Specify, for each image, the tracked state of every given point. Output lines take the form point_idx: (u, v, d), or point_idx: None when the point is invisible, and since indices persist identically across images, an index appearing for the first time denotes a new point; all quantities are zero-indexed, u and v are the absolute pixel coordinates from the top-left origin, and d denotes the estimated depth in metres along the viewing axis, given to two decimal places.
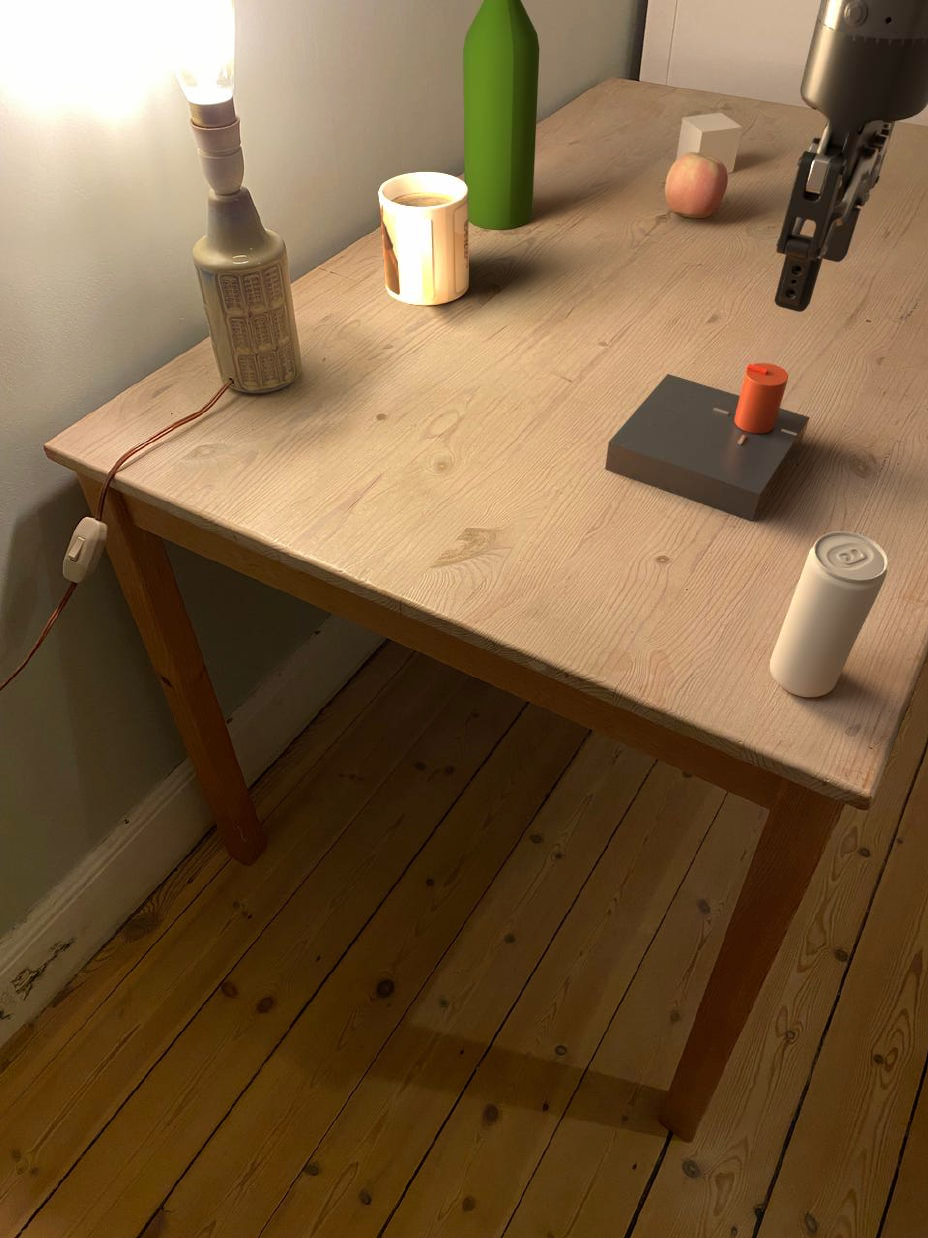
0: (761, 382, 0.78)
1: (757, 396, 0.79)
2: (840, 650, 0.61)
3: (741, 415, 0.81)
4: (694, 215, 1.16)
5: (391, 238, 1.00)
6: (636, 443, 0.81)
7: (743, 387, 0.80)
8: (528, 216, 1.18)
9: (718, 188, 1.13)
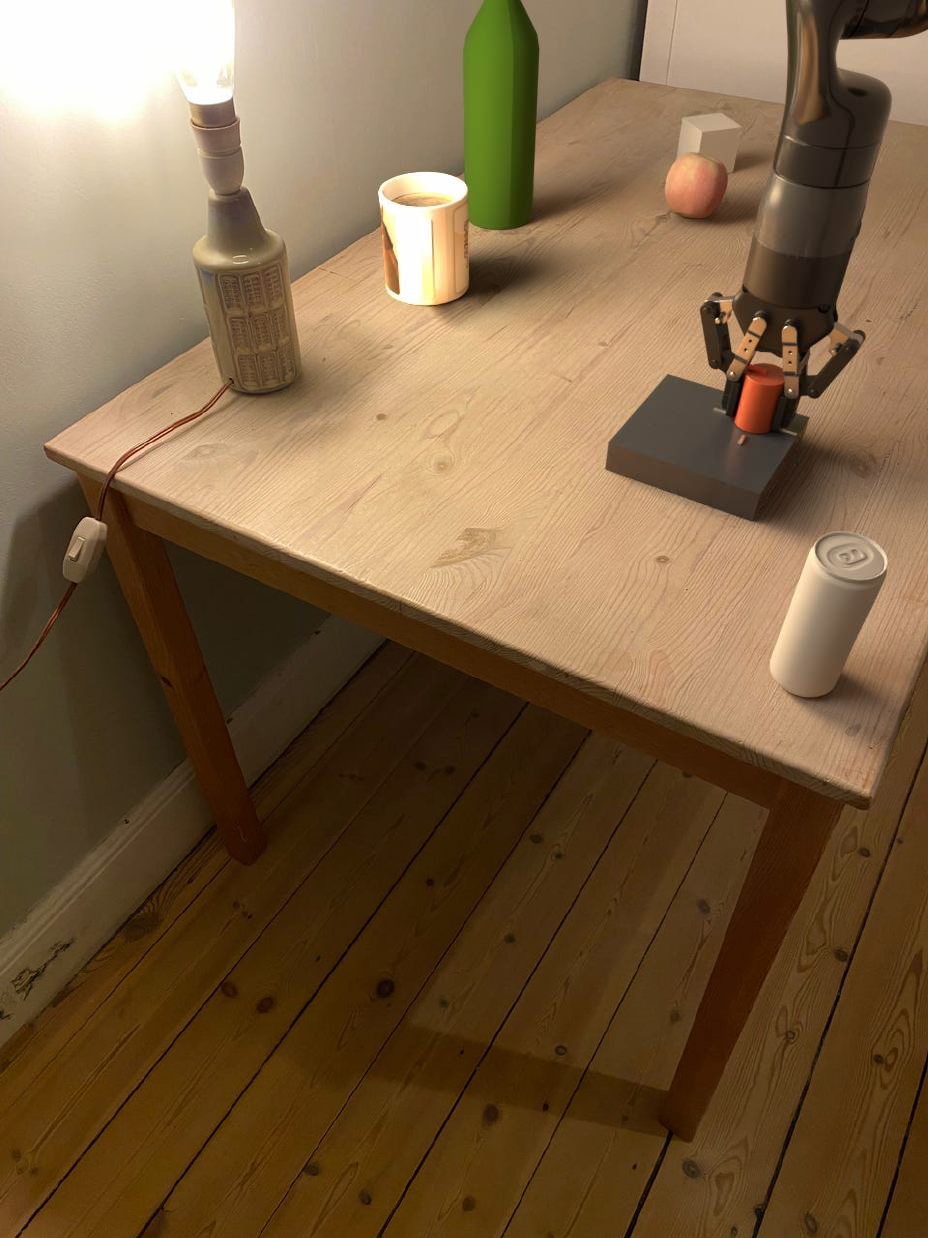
0: (761, 382, 0.78)
1: (757, 396, 0.79)
2: (840, 650, 0.61)
3: (741, 415, 0.81)
4: (694, 215, 1.16)
5: (391, 238, 1.00)
6: (636, 443, 0.81)
7: (743, 387, 0.80)
8: (528, 216, 1.18)
9: (718, 188, 1.13)
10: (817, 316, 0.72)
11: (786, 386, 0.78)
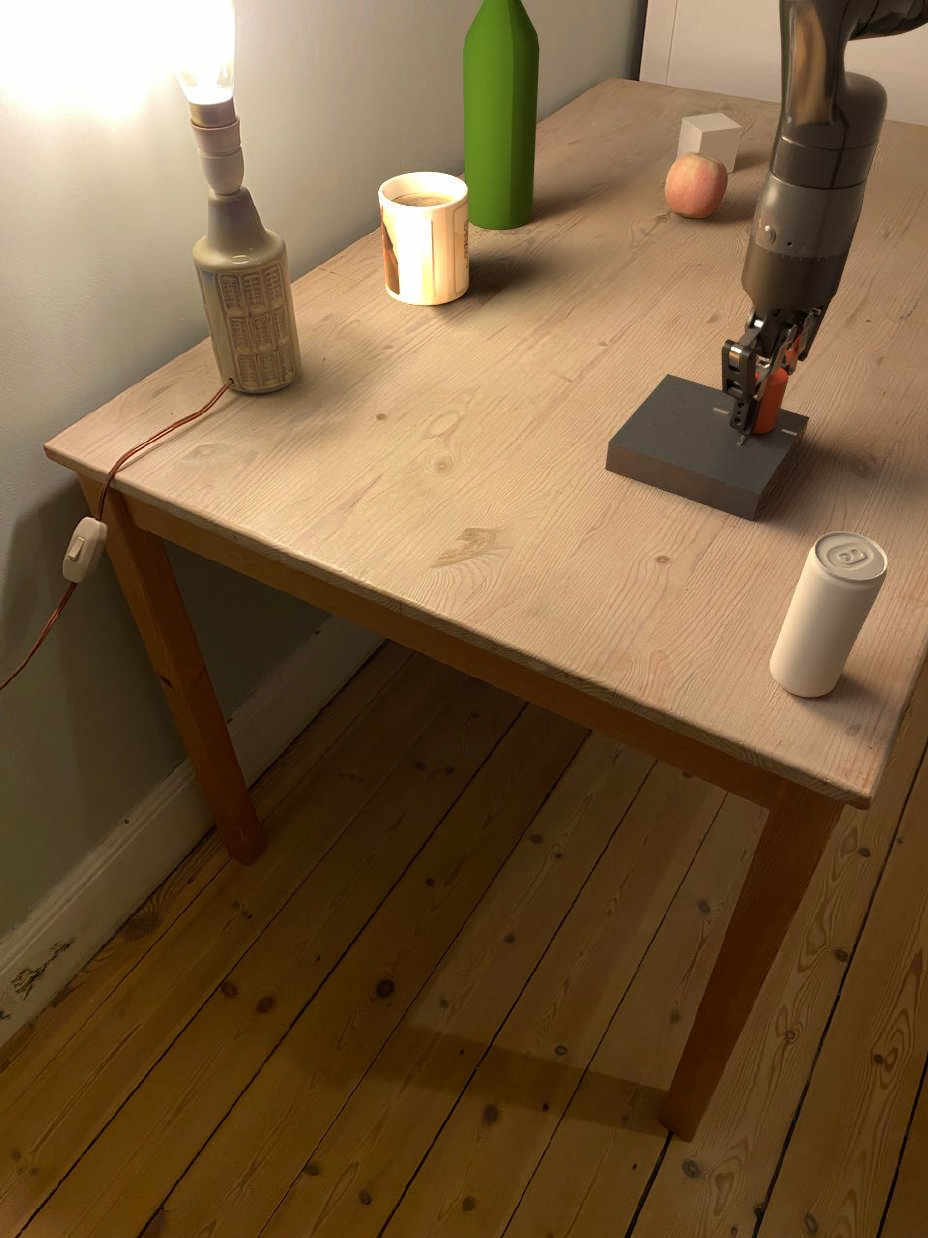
0: (783, 379, 0.78)
1: (782, 393, 0.79)
2: (840, 650, 0.61)
3: (767, 421, 0.81)
4: (694, 215, 1.16)
5: (391, 238, 1.00)
6: (636, 443, 0.81)
7: (765, 398, 0.79)
8: (528, 216, 1.18)
9: (718, 188, 1.13)
10: None
11: (790, 367, 0.79)
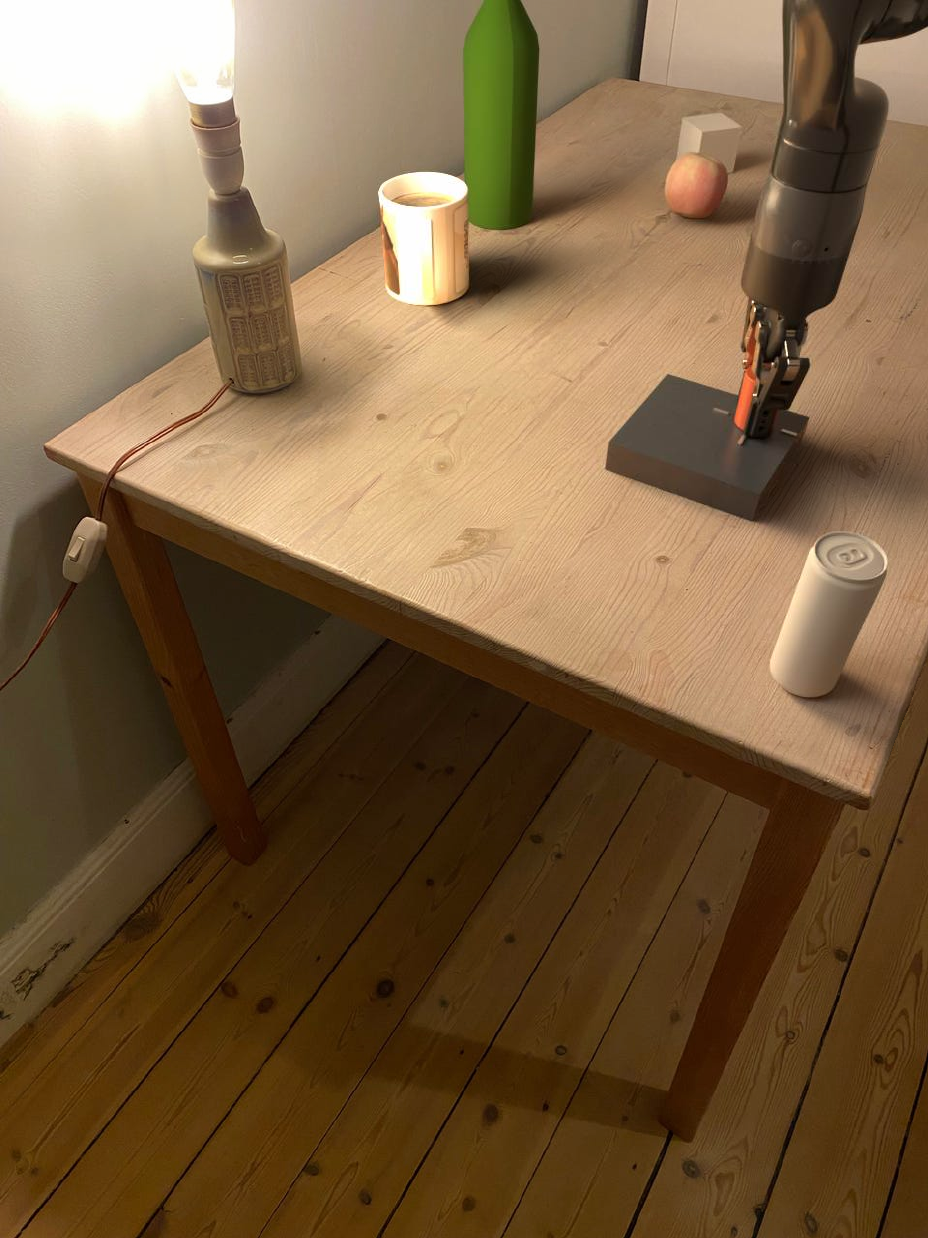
0: None
1: None
2: (840, 650, 0.61)
3: (777, 415, 0.81)
4: (694, 215, 1.16)
5: (391, 238, 1.00)
6: (636, 443, 0.81)
7: None
8: (528, 216, 1.18)
9: (718, 188, 1.13)
10: None
11: None
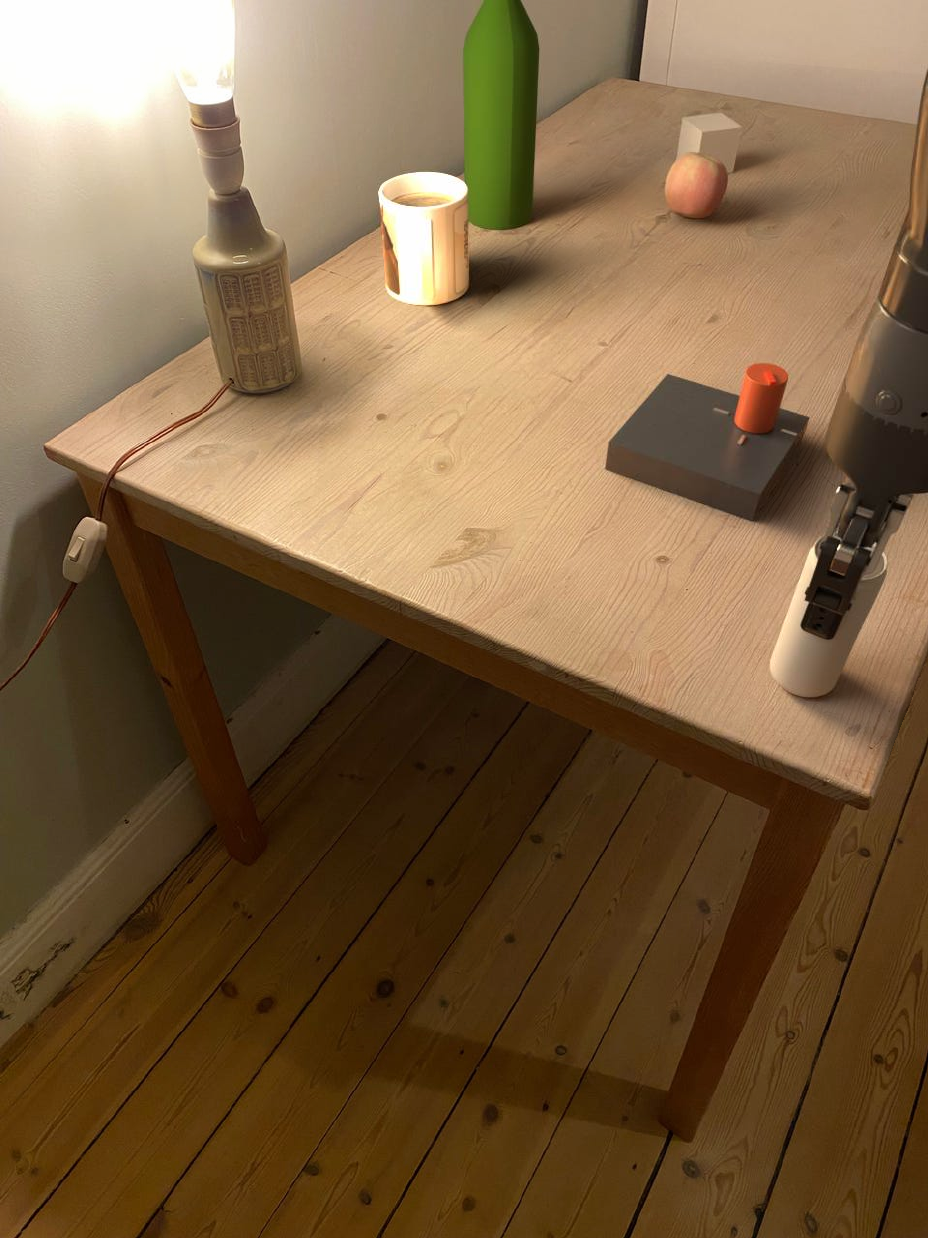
0: (784, 373, 0.79)
1: None
2: (839, 650, 0.61)
3: (777, 415, 0.81)
4: (694, 215, 1.16)
5: (391, 238, 1.00)
6: (636, 443, 0.81)
7: (779, 396, 0.79)
8: (528, 216, 1.18)
9: (718, 188, 1.13)
10: None
11: None
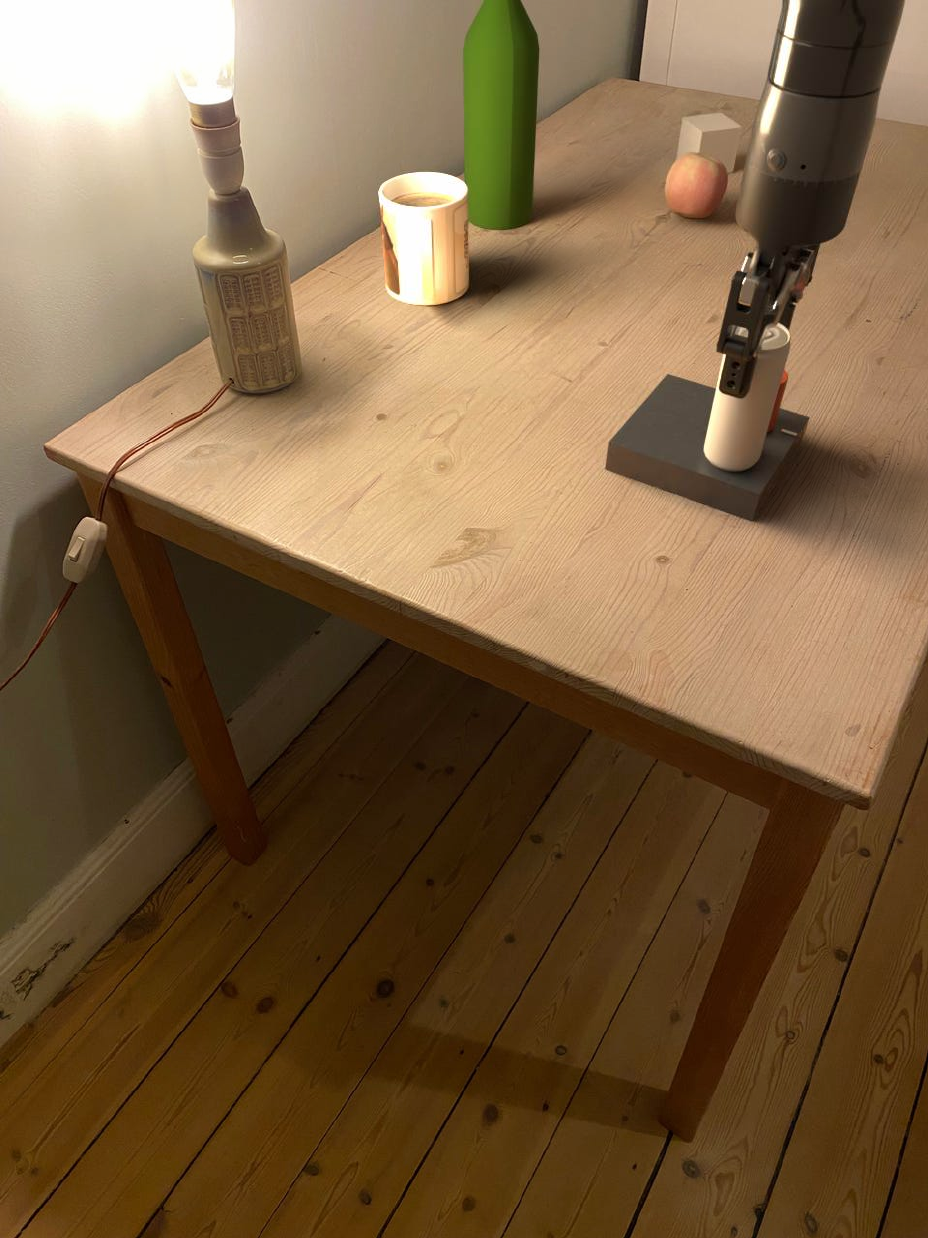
0: (784, 373, 0.79)
1: None
2: (756, 421, 0.73)
3: (777, 415, 0.81)
4: (694, 215, 1.16)
5: (391, 238, 1.00)
6: (636, 443, 0.81)
7: (779, 396, 0.79)
8: (528, 216, 1.18)
9: (718, 188, 1.13)
10: None
11: (799, 293, 0.71)
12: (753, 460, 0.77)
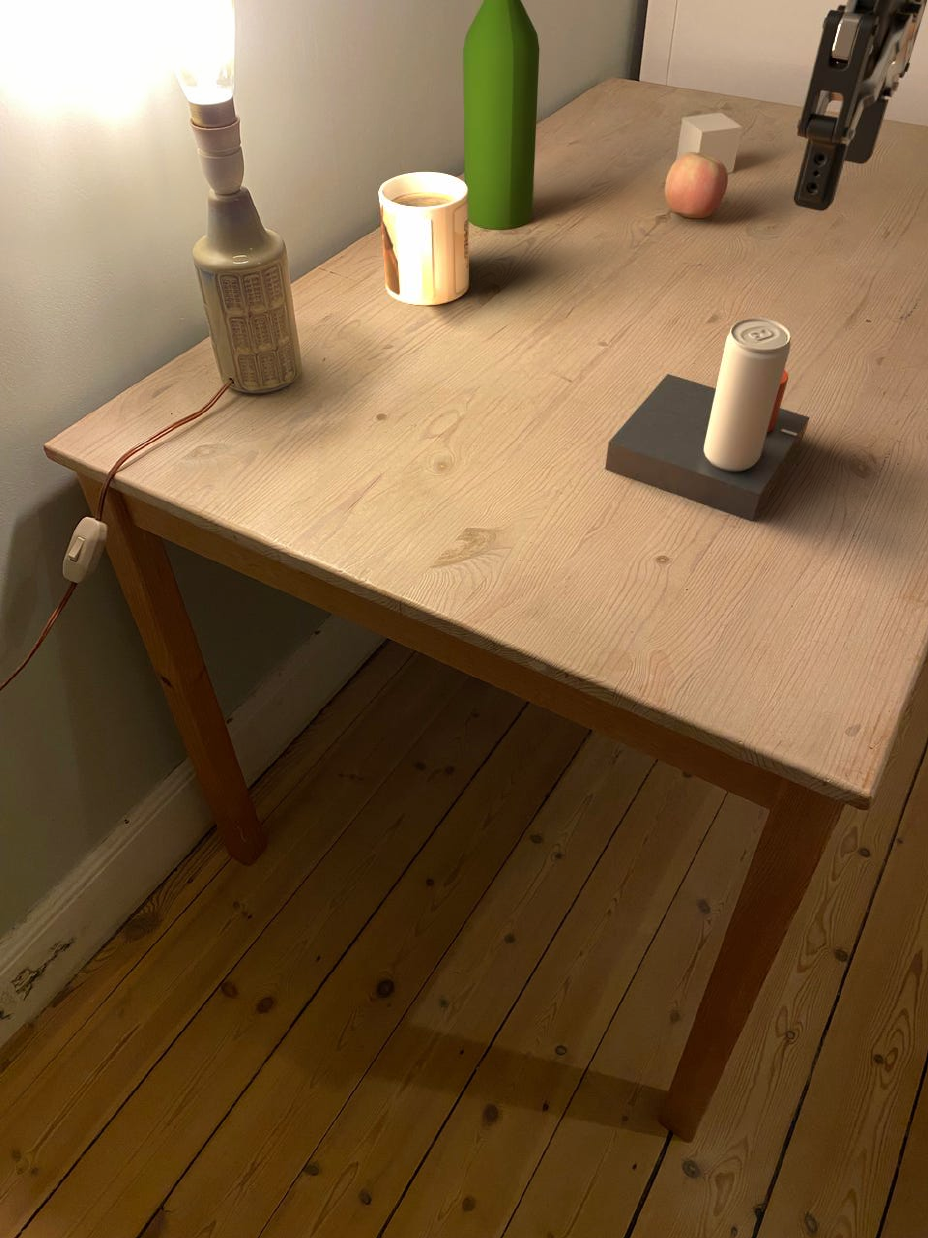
0: (784, 373, 0.79)
1: None
2: (756, 421, 0.73)
3: (777, 415, 0.81)
4: (694, 215, 1.16)
5: (391, 238, 1.00)
6: (636, 443, 0.81)
7: (779, 396, 0.79)
8: (528, 216, 1.18)
9: (718, 188, 1.13)
10: None
11: (894, 81, 0.56)
12: (753, 460, 0.77)
